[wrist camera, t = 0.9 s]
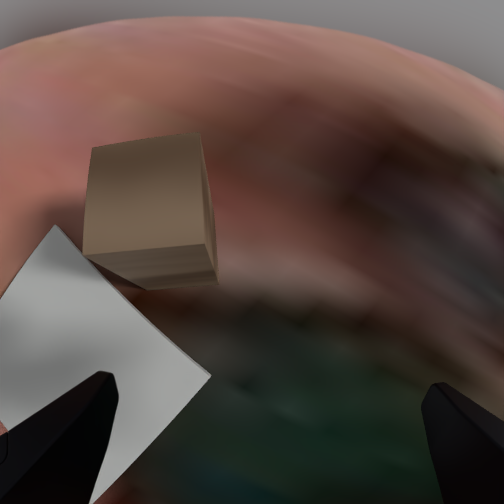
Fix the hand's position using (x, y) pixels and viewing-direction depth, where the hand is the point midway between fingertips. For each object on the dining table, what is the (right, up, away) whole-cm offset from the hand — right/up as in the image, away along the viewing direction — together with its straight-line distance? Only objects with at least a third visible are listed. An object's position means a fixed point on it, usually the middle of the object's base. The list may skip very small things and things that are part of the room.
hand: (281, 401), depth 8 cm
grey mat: (-15, -5, +12) cm, 19 cm away
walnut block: (-6, +4, +14) cm, 16 cm away
